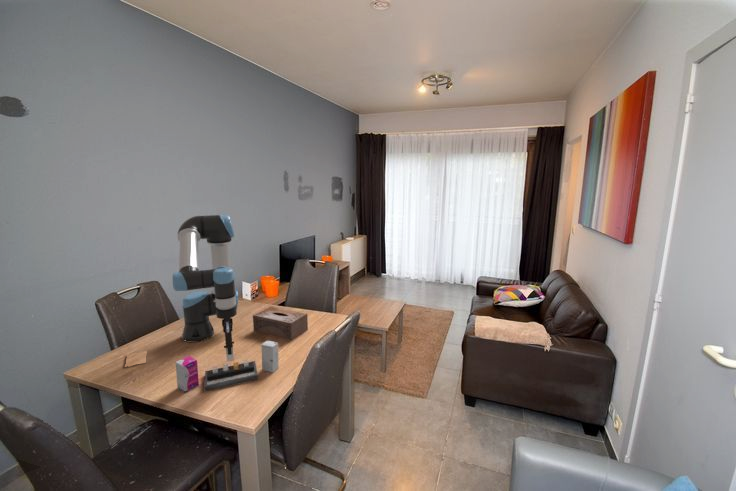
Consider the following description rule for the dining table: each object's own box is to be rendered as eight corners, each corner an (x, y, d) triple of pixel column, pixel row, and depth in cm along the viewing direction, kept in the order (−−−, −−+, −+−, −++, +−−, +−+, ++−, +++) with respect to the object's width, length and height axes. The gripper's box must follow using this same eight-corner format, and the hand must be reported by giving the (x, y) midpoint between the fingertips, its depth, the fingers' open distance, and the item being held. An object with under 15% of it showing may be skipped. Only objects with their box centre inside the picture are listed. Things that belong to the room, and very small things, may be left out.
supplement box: (185, 393, 126) (182, 366, 124) (177, 388, 129) (174, 361, 127) (199, 385, 131) (197, 359, 129) (191, 380, 134) (188, 355, 132)
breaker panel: (204, 391, 127) (203, 378, 126) (205, 375, 138) (204, 363, 137) (258, 379, 135) (257, 367, 134) (255, 365, 146) (254, 353, 145)
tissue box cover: (253, 332, 180) (252, 315, 178) (271, 322, 192) (270, 306, 191) (291, 341, 169) (291, 323, 167) (307, 330, 182) (307, 313, 180)
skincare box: (261, 370, 142) (260, 344, 140) (268, 365, 146) (266, 340, 144) (273, 373, 140) (272, 347, 138) (279, 367, 144) (278, 342, 142)
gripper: (215, 302, 135) (220, 354, 140) (215, 313, 124) (220, 370, 128) (235, 300, 138) (239, 351, 143) (236, 310, 127) (240, 366, 131)
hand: (230, 360), depth 135 cm, fingers closed
